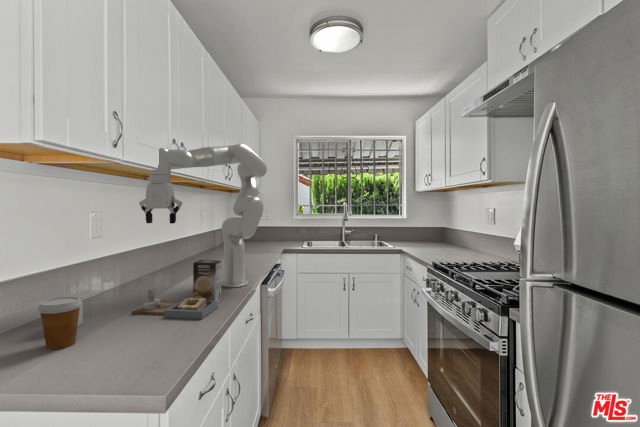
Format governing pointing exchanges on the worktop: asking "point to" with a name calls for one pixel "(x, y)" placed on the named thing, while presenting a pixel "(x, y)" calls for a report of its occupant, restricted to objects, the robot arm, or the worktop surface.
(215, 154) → the robot arm
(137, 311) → the stake board
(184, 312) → the grey square tray
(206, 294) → the brown food box
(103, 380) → the worktop surface
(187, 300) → the birch ring
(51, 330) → the disposable coffee cup
